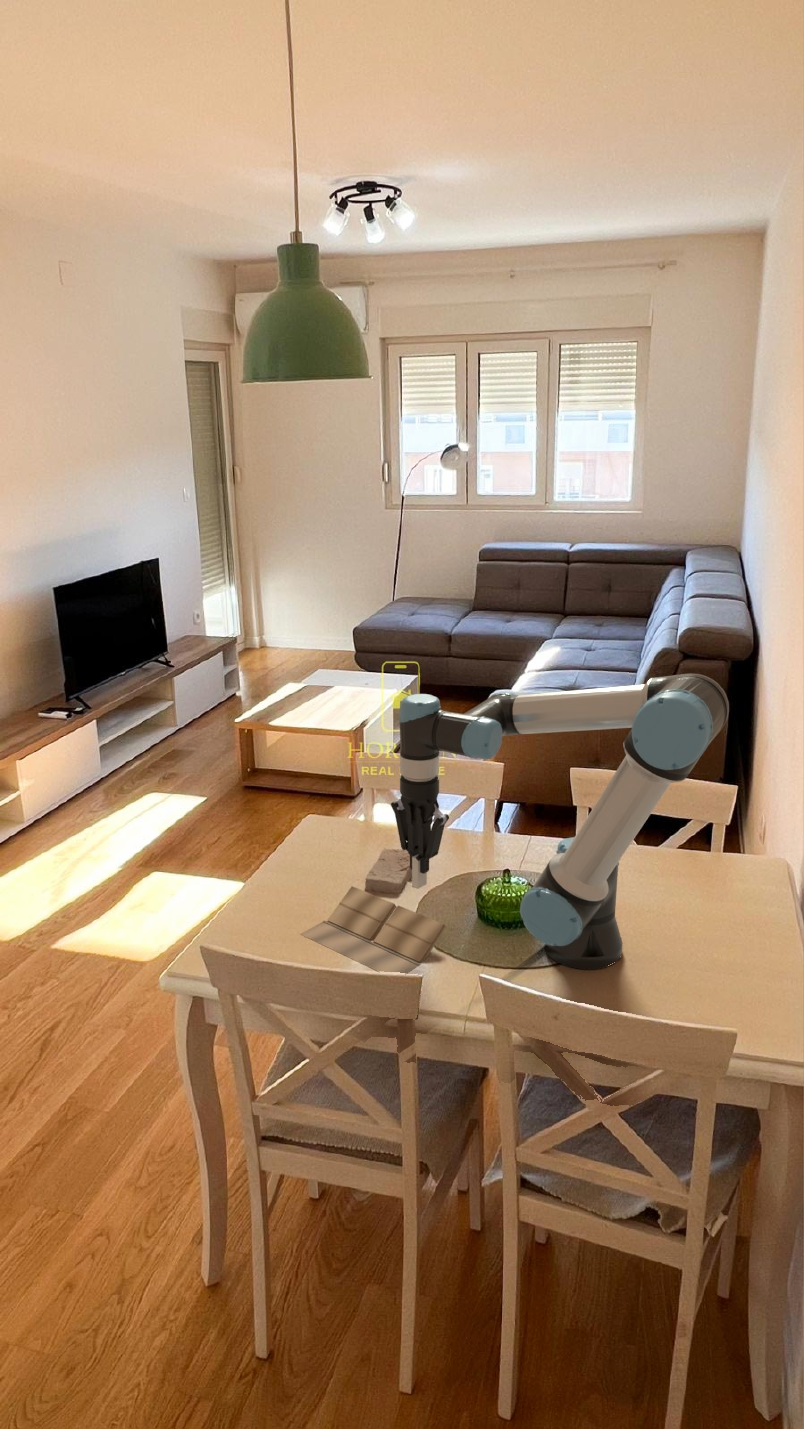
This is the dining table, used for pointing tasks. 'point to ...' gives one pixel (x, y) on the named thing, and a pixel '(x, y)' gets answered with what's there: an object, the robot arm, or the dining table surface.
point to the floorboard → (359, 948)
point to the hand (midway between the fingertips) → (419, 885)
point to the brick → (389, 872)
